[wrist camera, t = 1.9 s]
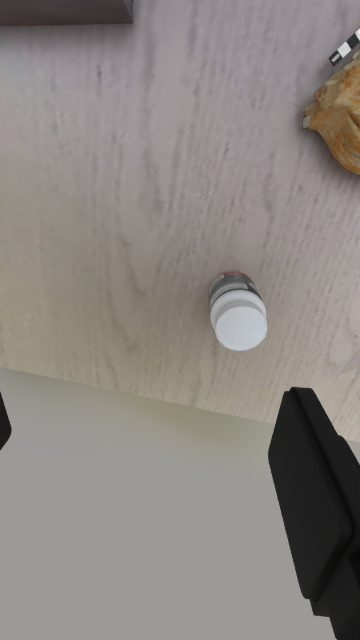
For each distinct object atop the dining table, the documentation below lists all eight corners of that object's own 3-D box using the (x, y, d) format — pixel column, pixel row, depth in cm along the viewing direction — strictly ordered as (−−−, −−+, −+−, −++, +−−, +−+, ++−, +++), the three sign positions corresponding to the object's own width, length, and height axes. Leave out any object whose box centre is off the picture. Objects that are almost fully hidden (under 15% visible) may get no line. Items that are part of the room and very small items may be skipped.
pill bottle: (256, 307, 30) (275, 351, 22) (212, 315, 30) (216, 359, 23) (251, 265, 28) (270, 296, 20) (204, 274, 28) (206, 308, 21)
